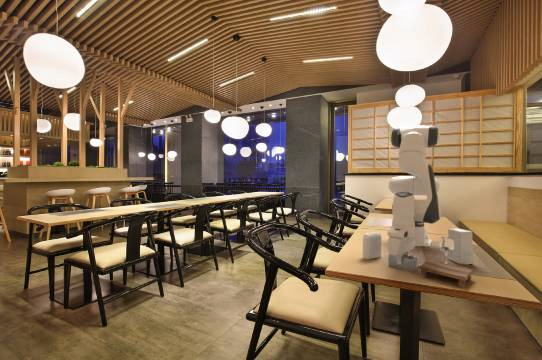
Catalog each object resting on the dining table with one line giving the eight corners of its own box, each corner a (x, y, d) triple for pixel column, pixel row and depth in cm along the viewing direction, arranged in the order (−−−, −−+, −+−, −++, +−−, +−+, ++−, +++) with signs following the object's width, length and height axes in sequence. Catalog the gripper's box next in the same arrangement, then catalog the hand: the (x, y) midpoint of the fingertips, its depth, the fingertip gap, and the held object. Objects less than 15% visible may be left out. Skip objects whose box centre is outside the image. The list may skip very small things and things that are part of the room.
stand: (428, 269, 113) (428, 259, 113) (472, 279, 102) (472, 269, 102) (418, 276, 105) (419, 266, 105) (465, 288, 94) (465, 277, 94)
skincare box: (473, 264, 120) (474, 231, 119) (460, 264, 119) (461, 231, 119) (459, 258, 128) (460, 227, 128) (446, 258, 128) (447, 227, 127)
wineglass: (435, 263, 120) (436, 237, 120) (444, 262, 123) (444, 236, 122) (448, 267, 115) (449, 240, 115) (457, 266, 117) (457, 239, 117)
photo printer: (374, 254, 133) (375, 229, 133) (382, 257, 129) (383, 231, 129) (361, 258, 127) (361, 232, 127) (368, 260, 124) (369, 233, 123)
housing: (392, 263, 120) (392, 250, 120) (416, 269, 113) (417, 255, 113) (388, 265, 117) (388, 252, 117) (412, 271, 110) (413, 257, 110)
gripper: (404, 226, 124) (403, 255, 125) (385, 232, 110) (384, 265, 111) (419, 228, 120) (418, 258, 120) (401, 235, 106) (400, 269, 106)
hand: (402, 262), depth 115 cm, fingers closed on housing, 4 cm apart
